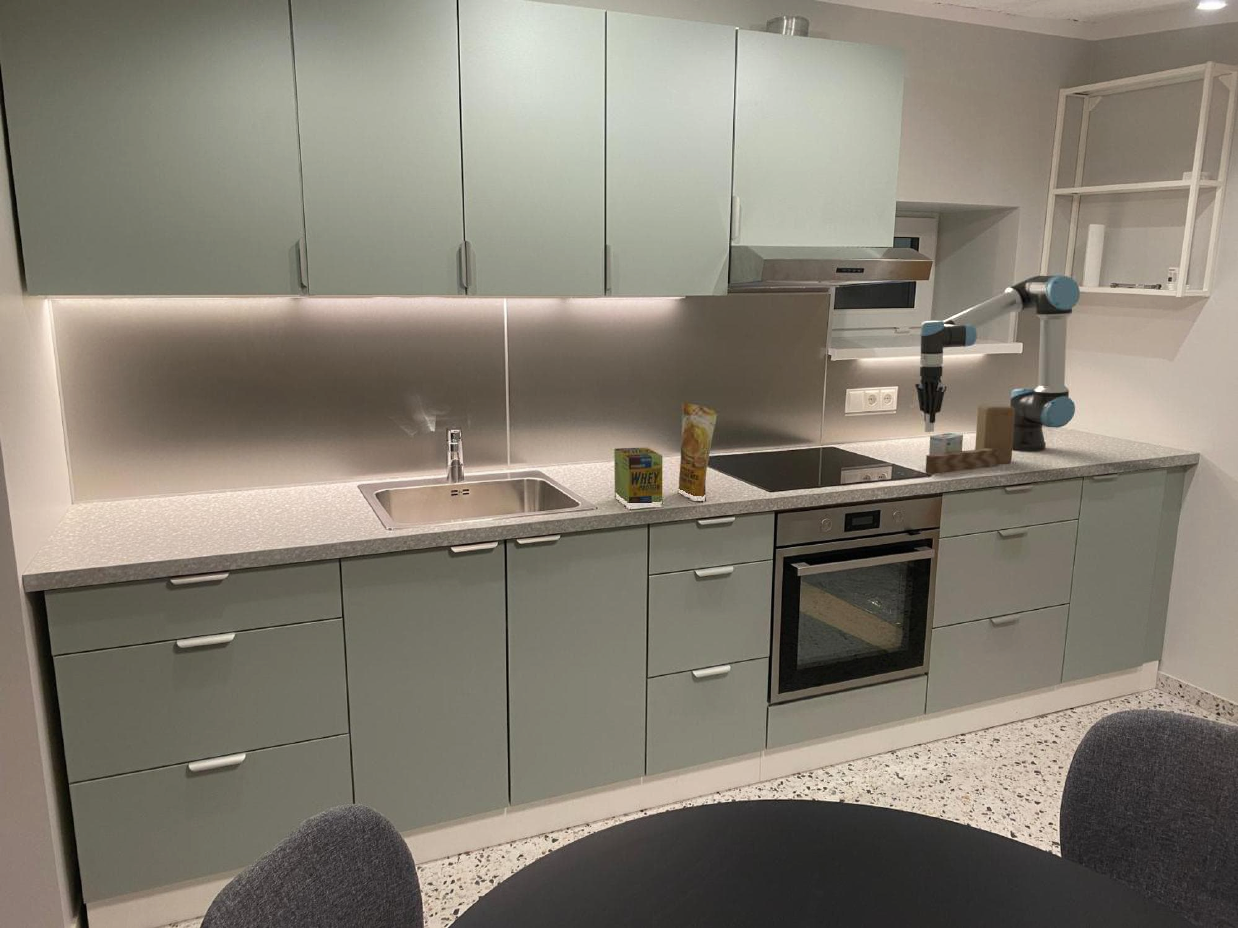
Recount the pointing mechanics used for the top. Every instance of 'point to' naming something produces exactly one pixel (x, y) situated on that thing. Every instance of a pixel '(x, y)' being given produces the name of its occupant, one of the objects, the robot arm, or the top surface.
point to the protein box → (638, 475)
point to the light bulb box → (945, 443)
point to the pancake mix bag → (695, 447)
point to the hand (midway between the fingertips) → (929, 431)
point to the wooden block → (996, 429)
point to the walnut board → (962, 460)
